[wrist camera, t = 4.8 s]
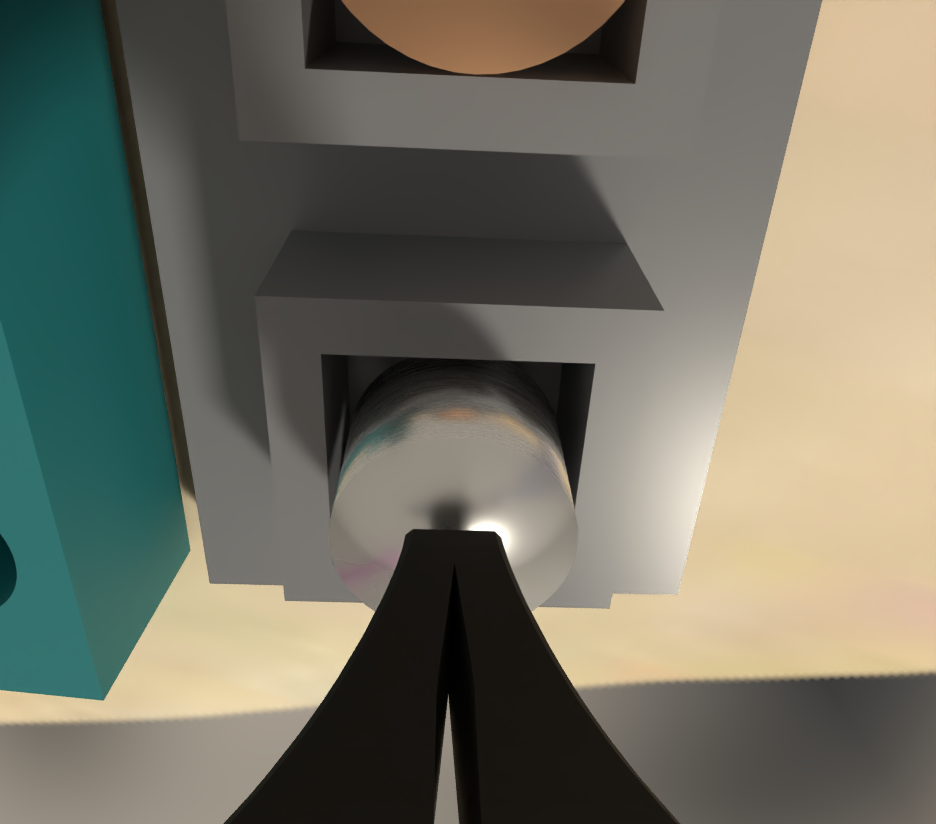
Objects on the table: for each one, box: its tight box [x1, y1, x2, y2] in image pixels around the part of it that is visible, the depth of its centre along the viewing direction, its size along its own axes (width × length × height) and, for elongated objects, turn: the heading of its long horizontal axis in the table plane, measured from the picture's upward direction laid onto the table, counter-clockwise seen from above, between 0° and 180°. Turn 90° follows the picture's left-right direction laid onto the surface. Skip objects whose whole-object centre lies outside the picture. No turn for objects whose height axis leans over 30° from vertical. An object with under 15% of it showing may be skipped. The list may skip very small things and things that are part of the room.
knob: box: [329, 357, 578, 611], centre depth 14 cm, size 4×4×3 cm
